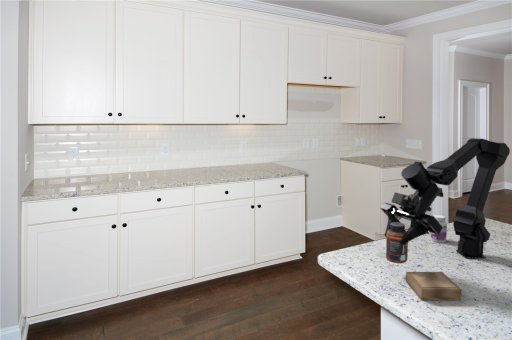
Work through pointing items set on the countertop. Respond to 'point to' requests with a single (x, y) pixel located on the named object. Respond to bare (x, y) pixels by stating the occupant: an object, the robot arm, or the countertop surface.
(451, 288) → the walnut plinth
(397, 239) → the supplement bottle
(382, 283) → the countertop surface
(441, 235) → the pill bottle
